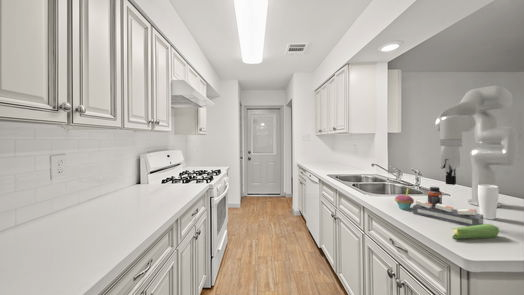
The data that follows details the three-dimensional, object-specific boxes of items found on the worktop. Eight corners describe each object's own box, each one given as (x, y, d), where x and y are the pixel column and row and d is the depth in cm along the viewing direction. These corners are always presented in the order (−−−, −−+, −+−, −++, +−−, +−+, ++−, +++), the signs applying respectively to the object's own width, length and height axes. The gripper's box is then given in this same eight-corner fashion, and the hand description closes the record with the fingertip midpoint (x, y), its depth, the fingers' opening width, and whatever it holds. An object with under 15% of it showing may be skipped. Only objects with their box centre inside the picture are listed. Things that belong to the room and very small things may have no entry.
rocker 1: (418, 202, 113) (418, 199, 113) (431, 207, 109) (432, 204, 108) (415, 203, 112) (416, 200, 111) (429, 208, 107) (430, 205, 107)
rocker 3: (460, 212, 100) (459, 209, 100) (477, 213, 95) (476, 209, 96) (458, 214, 98) (457, 210, 99) (475, 214, 94) (474, 210, 94)
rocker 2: (437, 206, 107) (438, 203, 107) (452, 210, 102) (453, 207, 102) (435, 207, 105) (435, 204, 105) (450, 212, 100) (451, 208, 100)
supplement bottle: (444, 210, 116) (444, 188, 116) (431, 209, 118) (431, 188, 117) (437, 206, 122) (438, 186, 122) (425, 206, 123) (425, 185, 123)
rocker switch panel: (419, 210, 117) (419, 201, 117) (483, 223, 97) (483, 213, 97) (412, 213, 112) (412, 204, 112) (478, 228, 93) (478, 217, 93)
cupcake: (413, 207, 122) (413, 185, 122) (414, 211, 115) (413, 188, 115) (395, 205, 127) (395, 184, 127) (394, 209, 120) (394, 187, 119)
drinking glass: (493, 216, 106) (494, 184, 105) (501, 221, 100) (501, 187, 99) (474, 214, 109) (475, 184, 108) (481, 219, 103) (481, 186, 102)
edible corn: (506, 228, 83) (493, 220, 87) (454, 232, 82) (444, 224, 86) (501, 239, 85) (489, 231, 89) (451, 243, 83) (441, 235, 88)
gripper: (446, 142, 108) (446, 180, 109) (434, 144, 99) (434, 185, 100) (466, 142, 102) (466, 183, 103) (456, 144, 93) (456, 188, 94)
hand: (450, 184), depth 101 cm, fingers closed
